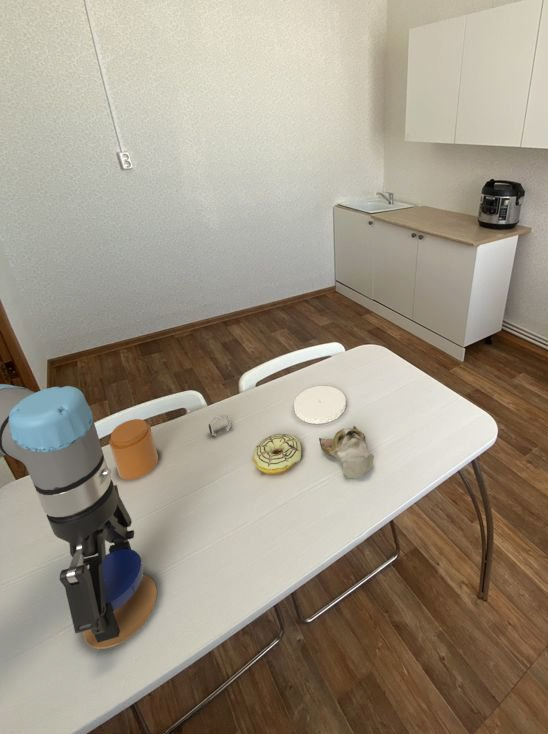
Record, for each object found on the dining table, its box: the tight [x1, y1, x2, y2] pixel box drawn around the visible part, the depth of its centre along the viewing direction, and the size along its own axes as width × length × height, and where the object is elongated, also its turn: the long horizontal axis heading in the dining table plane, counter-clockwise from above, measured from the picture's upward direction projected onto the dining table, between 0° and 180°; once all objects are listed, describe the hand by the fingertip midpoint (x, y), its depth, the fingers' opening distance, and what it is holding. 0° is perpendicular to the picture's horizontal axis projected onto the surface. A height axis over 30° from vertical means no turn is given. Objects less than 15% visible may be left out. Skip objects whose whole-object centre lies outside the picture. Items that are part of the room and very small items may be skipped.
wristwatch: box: [208, 414, 232, 437], centre depth 96 cm, size 3×5×5 cm, turn 127°
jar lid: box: [103, 548, 145, 611], centre depth 58 cm, size 8×8×2 cm
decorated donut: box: [252, 433, 302, 476], centre depth 88 cm, size 10×11×4 cm
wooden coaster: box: [82, 574, 158, 650], centre depth 60 cm, size 10×10×1 cm
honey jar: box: [108, 418, 159, 481], centre depth 85 cm, size 8×8×11 cm
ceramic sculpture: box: [318, 425, 375, 479], centre depth 87 cm, size 11×9×15 cm
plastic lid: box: [293, 385, 347, 425], centre depth 104 cm, size 14×14×2 cm
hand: (119, 602), depth 60 cm, fingers closed on jar lid, 8 cm apart
